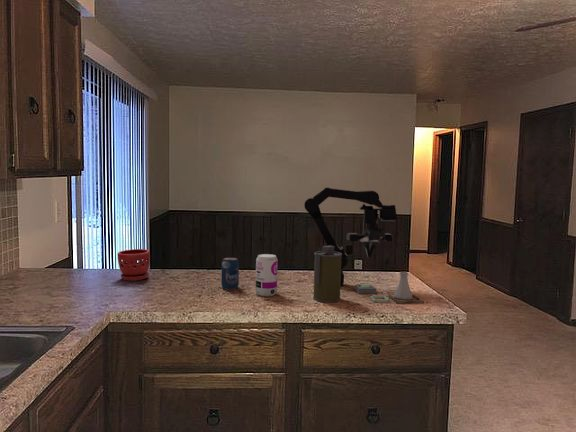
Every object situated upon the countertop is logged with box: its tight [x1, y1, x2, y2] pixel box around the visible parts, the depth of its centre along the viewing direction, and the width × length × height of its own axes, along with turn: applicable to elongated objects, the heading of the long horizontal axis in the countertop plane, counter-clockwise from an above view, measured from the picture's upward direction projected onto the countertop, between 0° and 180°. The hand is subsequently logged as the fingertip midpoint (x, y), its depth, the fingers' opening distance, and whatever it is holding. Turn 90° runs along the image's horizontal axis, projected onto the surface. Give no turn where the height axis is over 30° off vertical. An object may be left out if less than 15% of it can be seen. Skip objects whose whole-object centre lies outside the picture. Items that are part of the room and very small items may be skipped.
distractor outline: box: [369, 295, 391, 303], centre depth 181 cm, size 6×6×1 cm
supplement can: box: [255, 253, 279, 297], centre depth 186 cm, size 8×8×15 cm
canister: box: [312, 245, 342, 304], centre depth 180 cm, size 11×10×20 cm
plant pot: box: [117, 248, 151, 282], centre depth 206 cm, size 13×13×12 cm
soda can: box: [220, 256, 240, 291], centre depth 194 cm, size 7×7×12 cm
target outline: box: [387, 293, 424, 305], centre depth 182 cm, size 10×10×1 cm
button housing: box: [354, 283, 377, 295], centre depth 194 cm, size 7×7×2 cm
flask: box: [392, 271, 414, 301], centre depth 185 cm, size 7×7×10 cm
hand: (368, 257), depth 203 cm, fingers closed
